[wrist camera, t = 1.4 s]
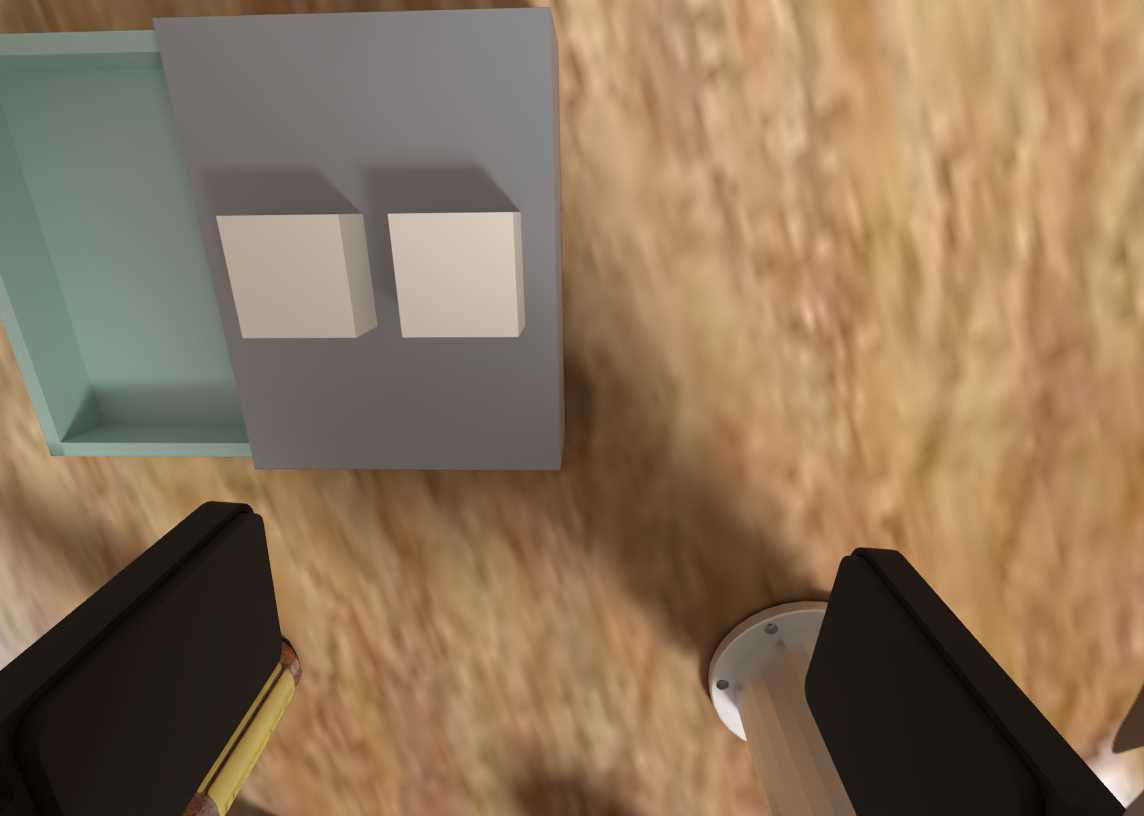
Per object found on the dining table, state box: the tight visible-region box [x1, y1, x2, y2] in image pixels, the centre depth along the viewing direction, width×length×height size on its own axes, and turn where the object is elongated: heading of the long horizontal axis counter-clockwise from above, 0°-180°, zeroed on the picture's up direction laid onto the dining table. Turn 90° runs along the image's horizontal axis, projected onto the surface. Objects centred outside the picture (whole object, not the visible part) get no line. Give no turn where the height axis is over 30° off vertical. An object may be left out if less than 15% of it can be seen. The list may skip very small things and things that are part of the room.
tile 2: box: [388, 212, 525, 337], centre depth 24 cm, size 5×5×2 cm
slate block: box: [152, 7, 565, 470], centre depth 28 cm, size 16×20×5 cm
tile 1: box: [216, 214, 378, 338], centre depth 24 cm, size 5×5×2 cm
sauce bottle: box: [181, 641, 302, 816], centre depth 31 cm, size 7×6×20 cm
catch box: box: [0, 30, 252, 457], centre depth 29 cm, size 12×20×4 cm, turn 1°
